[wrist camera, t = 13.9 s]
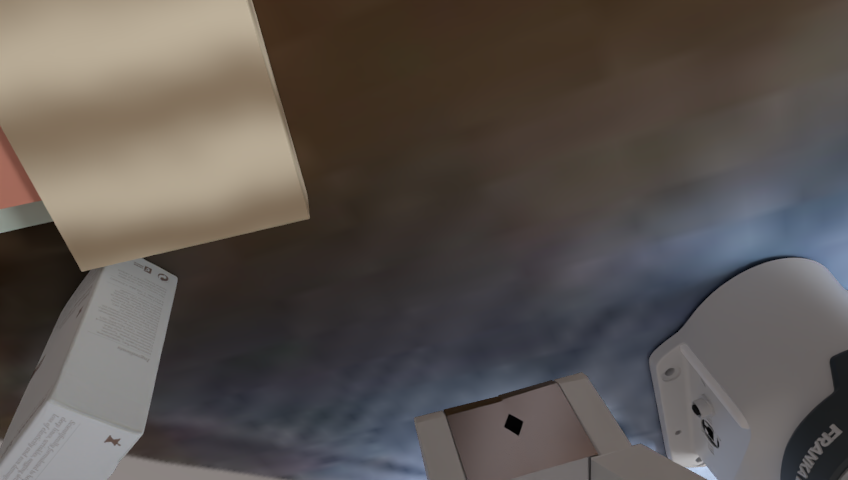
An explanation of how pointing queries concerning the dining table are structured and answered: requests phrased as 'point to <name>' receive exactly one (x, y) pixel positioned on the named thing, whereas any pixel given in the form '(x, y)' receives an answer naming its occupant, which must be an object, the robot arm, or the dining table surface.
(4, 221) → the mat
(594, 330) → the dining table surface
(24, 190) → the pink tray
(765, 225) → the dining table surface
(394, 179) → the dining table surface
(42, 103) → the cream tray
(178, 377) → the dining table surface
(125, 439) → the skincare box
